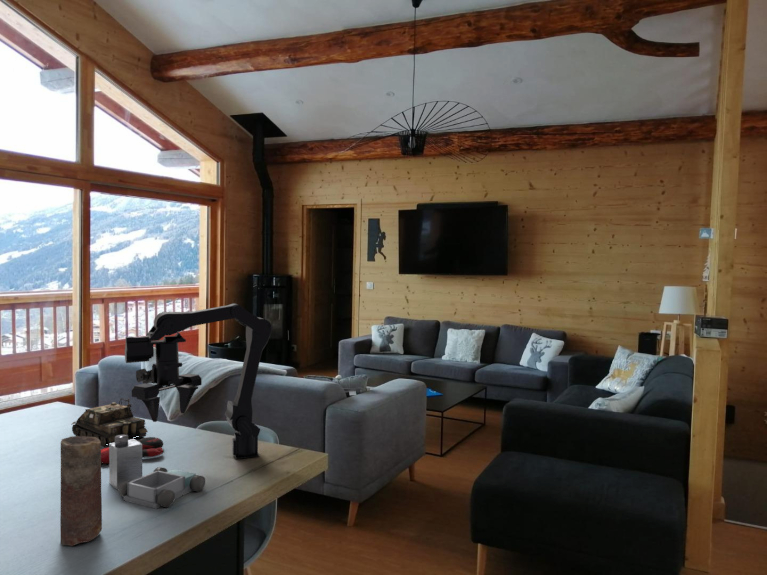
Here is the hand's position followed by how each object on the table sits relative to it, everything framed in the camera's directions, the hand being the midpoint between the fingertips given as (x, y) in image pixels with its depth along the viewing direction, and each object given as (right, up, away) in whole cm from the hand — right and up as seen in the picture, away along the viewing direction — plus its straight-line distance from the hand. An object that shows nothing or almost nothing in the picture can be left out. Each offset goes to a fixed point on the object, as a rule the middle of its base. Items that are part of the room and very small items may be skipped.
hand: (169, 417), depth 157 cm
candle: (-3, -15, -41) cm, 43 cm away
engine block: (-6, -14, -12) cm, 19 cm away
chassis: (+5, -14, -18) cm, 23 cm away
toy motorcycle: (-17, -13, +6) cm, 22 cm away
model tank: (-27, -12, +25) cm, 39 cm away
